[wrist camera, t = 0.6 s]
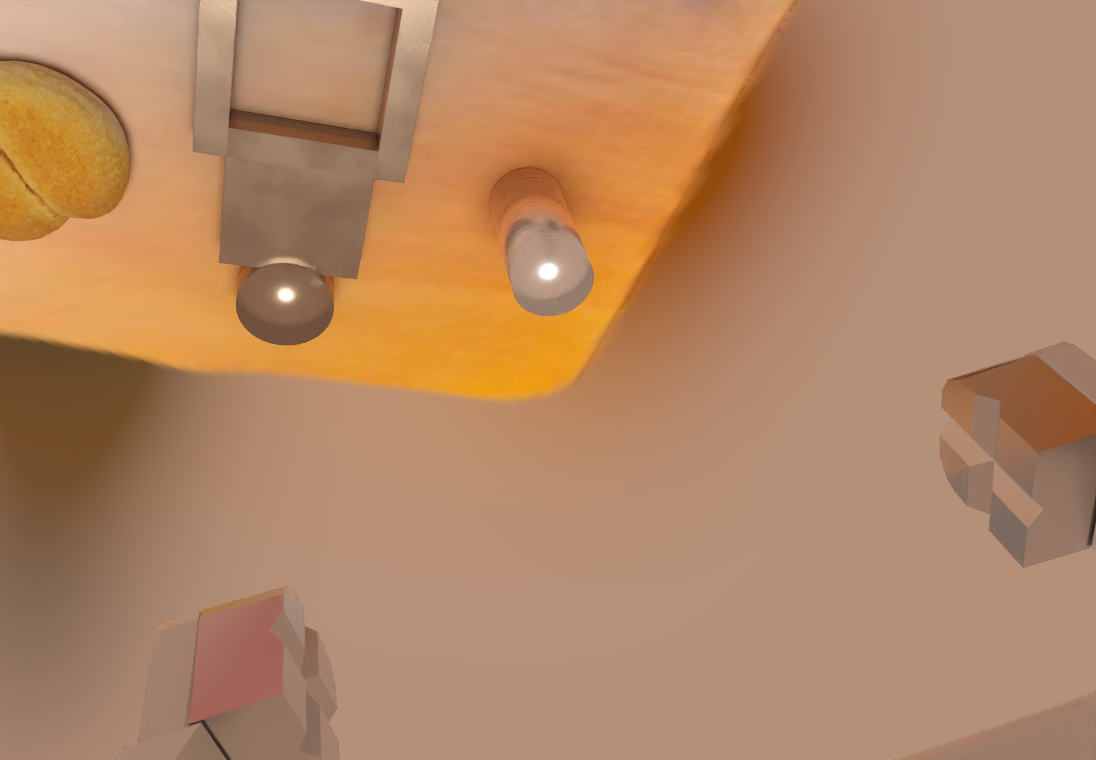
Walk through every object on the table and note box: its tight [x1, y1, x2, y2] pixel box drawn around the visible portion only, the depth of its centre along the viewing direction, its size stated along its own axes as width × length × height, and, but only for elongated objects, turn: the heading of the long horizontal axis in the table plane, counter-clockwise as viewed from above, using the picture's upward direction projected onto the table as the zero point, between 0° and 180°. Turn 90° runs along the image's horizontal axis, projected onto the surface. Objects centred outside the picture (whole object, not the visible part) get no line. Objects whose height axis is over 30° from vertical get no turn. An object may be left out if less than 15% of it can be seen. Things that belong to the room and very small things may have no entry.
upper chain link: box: [193, 0, 439, 345], centre depth 48 cm, size 20×10×2 cm, turn 165°
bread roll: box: [0, 61, 130, 241], centre depth 44 cm, size 8×9×4 cm
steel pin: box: [489, 168, 594, 316], centre depth 50 cm, size 4×4×8 cm
